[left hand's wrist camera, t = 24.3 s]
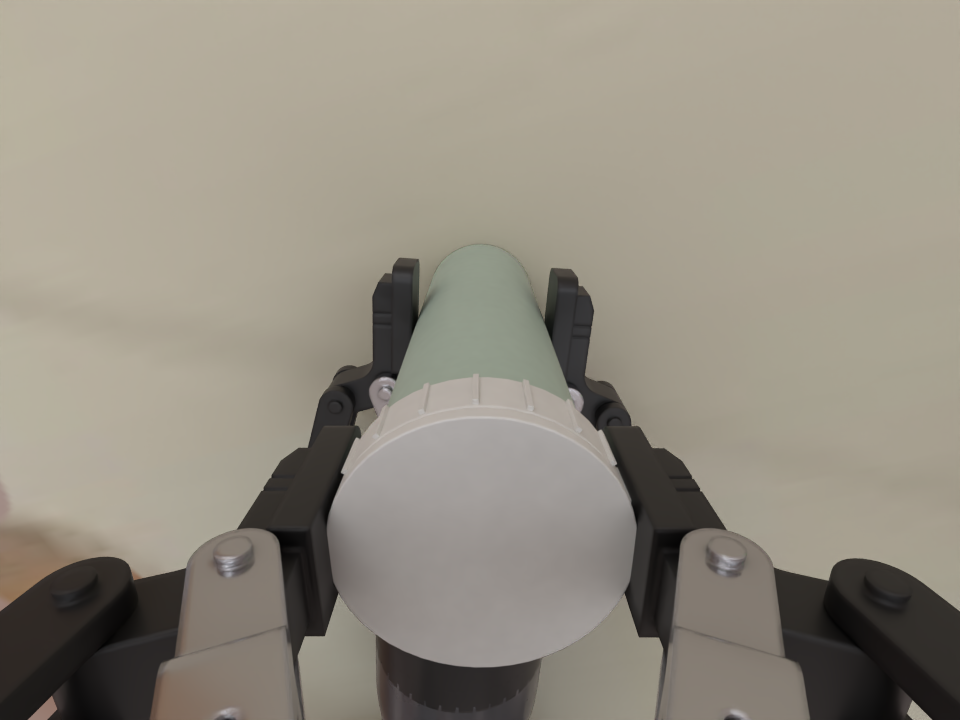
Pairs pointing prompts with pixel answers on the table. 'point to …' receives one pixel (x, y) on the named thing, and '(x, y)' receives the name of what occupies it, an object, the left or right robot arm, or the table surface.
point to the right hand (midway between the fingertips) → (484, 269)
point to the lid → (481, 524)
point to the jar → (480, 327)
